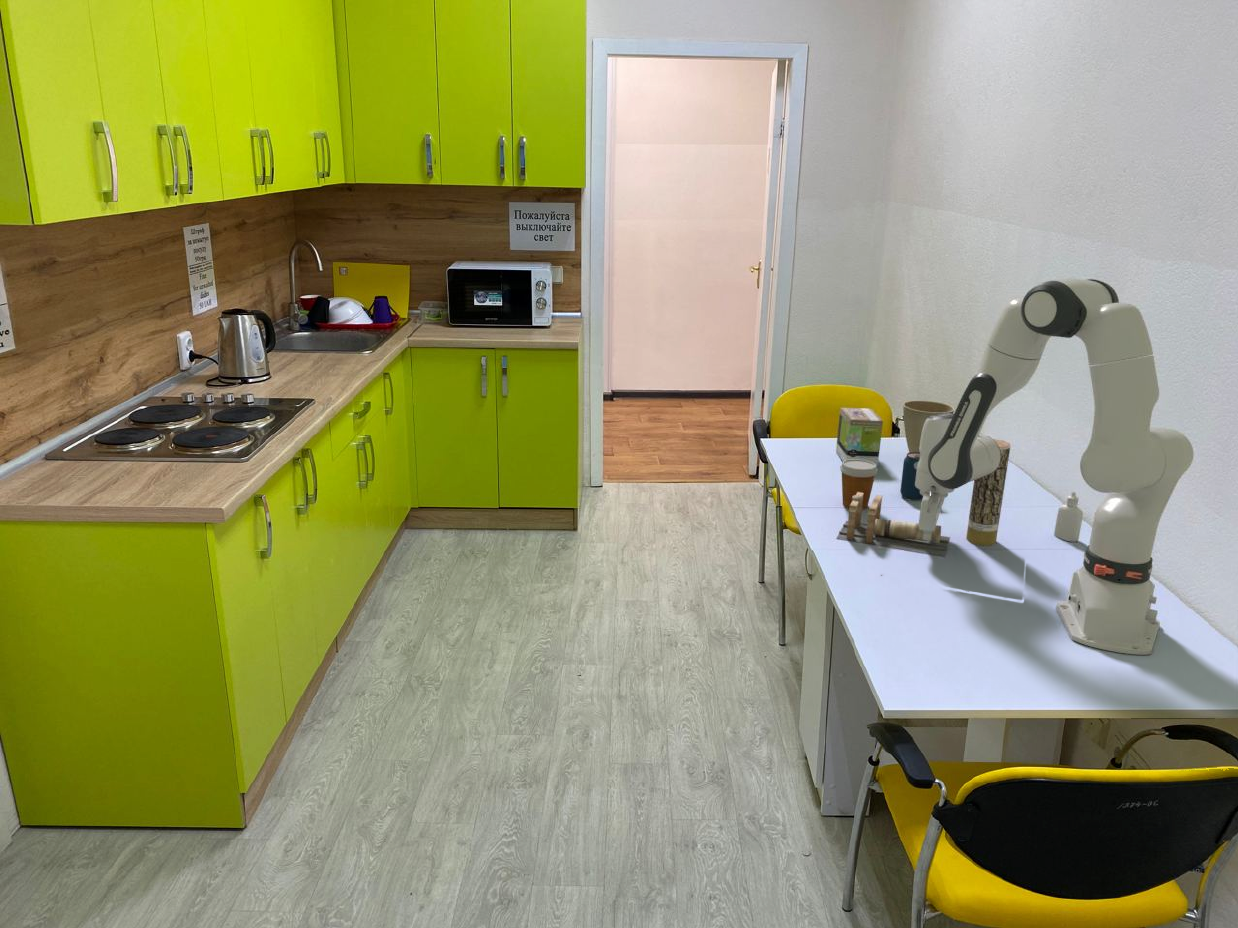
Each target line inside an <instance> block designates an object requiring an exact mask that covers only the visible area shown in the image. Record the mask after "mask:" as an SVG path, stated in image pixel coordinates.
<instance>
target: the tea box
mask: <svg viewBox="0 0 1238 928" xmlns="http://www.w3.org/2000/svg"><path fill="white" fill-rule="evenodd" d="M839 409H840V410H839V418H838V425H837V426H838V429H837V436H836V437H837V438H836V447H835V452H836V454H837V455H838V458H839V459H840V460H841V461H842V462H843V461H845V460H849V459H861V460H867V461H870V462H873V463H875V464H876V468H877V467H878V465H879V457H880V449H881V440H882V433H883V425H884V423H883V422H884V420H883V419H882V418H881V417H880V416H879V415H878V414H877V413H876V412H875V411H874V410H873V409H872V408H859V407H840V408H839Z"/></svg>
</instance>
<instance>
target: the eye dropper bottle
mask: <svg viewBox="0 0 1238 928" xmlns="http://www.w3.org/2000/svg"><path fill="white" fill-rule="evenodd" d="M1076 493H1077V492H1076V491H1072V492H1071V494H1070V495H1068V496H1067V498H1066V503H1065V504H1061V505H1059V507H1058V509H1057V514H1056V521H1055V525H1054V533H1053V535H1054V537H1056V538H1058V539H1061V540H1063V541H1067V542H1071V543H1074V542H1078V541H1079V539H1080V533H1081V530H1082V521H1083V516H1084V512H1083V511H1082V509H1081V508H1079V507H1078V505H1079V503H1078V502H1079V497H1078V496H1077V495H1076Z"/></svg>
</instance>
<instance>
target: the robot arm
mask: <svg viewBox="0 0 1238 928" xmlns="http://www.w3.org/2000/svg"><path fill="white" fill-rule="evenodd" d="M1074 336H1075V337H1077V338H1079V339H1081V341H1082V342H1083V344H1084V345H1085V346H1084V347H1085V349H1086V353H1087V361H1088V366H1089V367H1088V368H1089V372H1090V381H1091V385H1092V386H1091V387H1092V394H1093V400H1094V401H1093V402H1094V412H1093V413H1094V415H1093V424H1092V432H1091V437H1090V440H1089V443H1088V445H1087V447H1086V449H1085V450H1084V452H1083V453H1082V456H1081V458H1080V465H1079V467H1080V469H1079V470H1080V473H1081V477H1082V478H1083V479H1082V480H1083V481H1084V482H1085V483H1086V485H1088V486H1089V488H1091V489H1092V490H1094V491H1096V492H1098V493H1099V492H1100V493H1104V494H1107V495H1106V497H1105V498H1104V499H1103V501H1102V502H1101V503H1100V505H1099V506H1098V507H1097V509H1096V511H1095V512H1094V518H1093V521H1092V522H1093V523H1092V529H1091V533H1090V537H1089V538H1090V539H1089V543H1088V545H1087V546H1086V548H1085V550H1084V554H1083V563H1082V564H1083V565H1082V566H1081V567H1080V568H1079V569H1076V570H1074V571H1073V573H1072V576H1071V582H1070V585H1069V591H1068V596H1067V599H1066V601H1060V602H1057V604H1056V606H1055V610H1056V611H1057V613H1058V615H1059V616H1060V619H1061V621H1062V623H1063V625H1064V627H1065V629H1066V631H1067V633H1068V636H1069V638H1070V639H1071V640H1072V641H1074V642H1076V643H1079V644H1082V645H1085V646H1089V647H1091V648H1095V649H1099V650H1103V651H1109V652H1114V653H1119V654H1120V653H1122V654H1127V655H1137V656H1138V655H1151V654H1152V653H1153V648H1154V646H1155V642H1156V639H1157V635H1158V634H1159V630H1160V624H1161V622H1160V620H1158V619H1157V616H1158V610H1156V609H1151V608H1152V604H1153V605H1156V603H1157V597H1156V596H1154V592H1155V583H1153V581H1151V579H1150V578H1151V573H1152V571H1153V557H1152V554H1153V548H1154V545H1155V541H1156V537H1157V533H1158V532H1157V530H1158V527H1159V524H1160V521H1161V519H1162V516H1163V513H1164V510H1165V509H1166V508H1167V505H1168V502H1169V500H1170V499H1171V496H1172V495H1173V492H1174V491H1175V488H1176V487H1177V484H1178V483H1179V481H1180V480H1181V478H1182V476H1184V474H1185V473H1186V471H1188V469H1190V467H1191V465H1192V463H1193V462H1194V461H1193V460H1194V454H1195V453H1194V448H1193V445H1192V443H1191V441H1190V439H1189V438H1188V437H1187V436H1186V435H1185V434H1183V433H1182V432H1180V431H1179V430H1175V429H1170V428H1165V427H1163V428H1162V427H1151V420H1152V414H1153V411H1154V407H1155V406H1156V404H1157V402H1158V401H1159V398H1160V388H1159V381H1158V375H1157V369H1156V364H1155V363H1156V362H1155V357H1154V352H1153V347H1152V342H1151V339H1150V335H1149V331H1148V328H1147V326H1146V323H1145V319H1144V318H1143V315H1142V313H1141V311H1140V309H1139V308H1138V307H1137V306H1135V305H1133V304H1130V303H1127V302H1120V300H1119V296H1118V294H1117V292H1116V290H1115V289H1114V288H1113V287H1112V286H1111V285H1110V284H1108V283H1107V282H1104V281H1102V280H1099V279H1094V278H1089V279H1088V278H1087V279H1080V278H1079V279H1078V278H1063V279H1058V280H1047V281H1045V282H1044V281H1043V282H1042V283H1038V284H1037V285H1036V286H1033V287H1032V288H1031V289H1030V290H1028V292H1026V294H1025V295H1024V296H1021V297H1016V298H1014V299H1012V300H1010V301H1008V303H1007V304H1006V305H1005V307H1004V308H1003V310H1002V311H1001V313H1000V315H999V317H998V319H997V320H996V323H995V325H994V326H993V328H992V331H991V333H990V336H989V338H988V341H987V343H986V347H985V350H984V351H983V354H982V357H981V359H980V362H979V364H978V366H977V368H976V369H975V373H974V374H973V376H972V377H971V380H970V381H969V382H968V384H967V387H966V388H965V390H964V391H963V394H962V396H961V398H960V400H959V402H958V404H957V407H956V409H955V410H954V412H953V414H952V413H943V414H936V415H933V416H930V417H928V418H927V419H926V421H925V423H924V426H923V429H922V434H921V440H920V447H919V451H920V460H919V462H918V465H917V472H916V480H915V486H916V488H918V489H920V494H921V495H923V499H922V500H921V504H920V509H919V511H920V512H919V518H918V523H919V524H918V527H919V529H920V530H923V540H926V541H930V540H931V537H932V532H933V531H934V530H935V527H936V525H937V523H938V520H939V518H940V515H941V511H942V508H943V505H944V502H945V498H947V497H948V495H949V494H952V492H954V491H955V489H959V488H960V487H962V486H965V485H967V484H968V483H971V482H974V480H976V479H979V478H981V477H983V476H986V475H989V474H990V473H992V472H994V471H995V470H996V469H997V468H998V467H999V464H1000V461H1001V452H1000V449H999V446H998V445H997V443H996V442H995V441H994V440H993V438H992V437H990V436H988V435H985V434H982V433H980V432H981V431H982V429H983V425H984V424H985V421H986V419H987V418H988V416H989V415H990V413H991V412H992V411H993V410H994V408H996V407H997V406H998V405H999V404H1001V403H1002V401H1004V400H1007V398H1009V397H1010V396H1012V395H1014V394H1015V393H1017V392H1019V391H1020V390H1021V389H1023V388H1024V387H1026V386H1027V385H1028V384H1029V382H1030V380H1031V379H1032V377H1033V376H1034V375H1035V372H1036V370H1037V369H1038V366H1039V364H1040V360H1041V359H1042V357H1043V353H1044V351H1045V348H1046V345H1047V343H1048V341H1049V339H1051V338H1052V337H1057V338H1067V339H1070V338H1073V337H1074Z"/></svg>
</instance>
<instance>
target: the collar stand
mask: <svg viewBox="0 0 1238 928" xmlns="http://www.w3.org/2000/svg"><path fill="white" fill-rule="evenodd" d="M863 495H864V493H861V492H857V494H856V495H854V496H852V499H853V501H852V503H851V504H850V508H848V509H849V511H848V520H845V522H844V523H843V524H842V525H843V526H842V527H841V530H839V531H838V535H837V537H836V538H835V539H836V540H839V541H846V542H852V543H857V544H863V545H870V546H876V547H881V548H888V549H892V550H899V551H906V552H912V553H917V554H925V555H931V556H937V557H942V558H945V557H946V554H947V551H948V546H949V542H950V539H951V537H950V536H945V535H941V537H940V542H939V543H938V542H929V541H921V540H912V539H903V538H894V537H885V536H876V535H874V526H875V520H876V519H881V512H882V503H883V495H880V494H875V496H874V498H873V500H872V502H871V503H870V506H869V508H868V515H867V524H866V523H862V522H861V521H862V513H863V509H862V505H863Z"/></svg>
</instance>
